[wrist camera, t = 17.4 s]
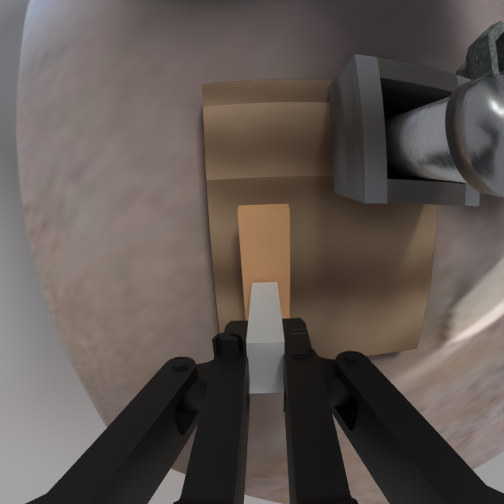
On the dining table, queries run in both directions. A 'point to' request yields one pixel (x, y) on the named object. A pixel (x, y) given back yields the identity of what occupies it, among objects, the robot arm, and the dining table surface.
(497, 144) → the pin
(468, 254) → the dining table surface
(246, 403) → the robot arm
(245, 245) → the strip
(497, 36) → the mortar and pestle
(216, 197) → the hitch board
